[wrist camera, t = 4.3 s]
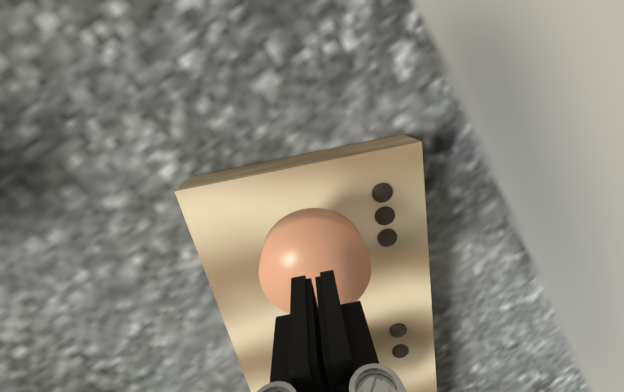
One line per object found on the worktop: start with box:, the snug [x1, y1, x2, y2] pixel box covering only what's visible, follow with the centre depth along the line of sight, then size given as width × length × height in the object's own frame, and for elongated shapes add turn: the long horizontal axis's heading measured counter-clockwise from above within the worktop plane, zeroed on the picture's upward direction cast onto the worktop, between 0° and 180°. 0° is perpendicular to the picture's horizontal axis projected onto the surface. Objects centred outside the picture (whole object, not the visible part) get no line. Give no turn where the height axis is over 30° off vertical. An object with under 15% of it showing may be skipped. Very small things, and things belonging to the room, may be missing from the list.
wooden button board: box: [175, 134, 437, 392], centre depth 22 cm, size 28×14×4 cm, turn 11°
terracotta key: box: [259, 208, 372, 314], centre depth 14 cm, size 5×5×2 cm
